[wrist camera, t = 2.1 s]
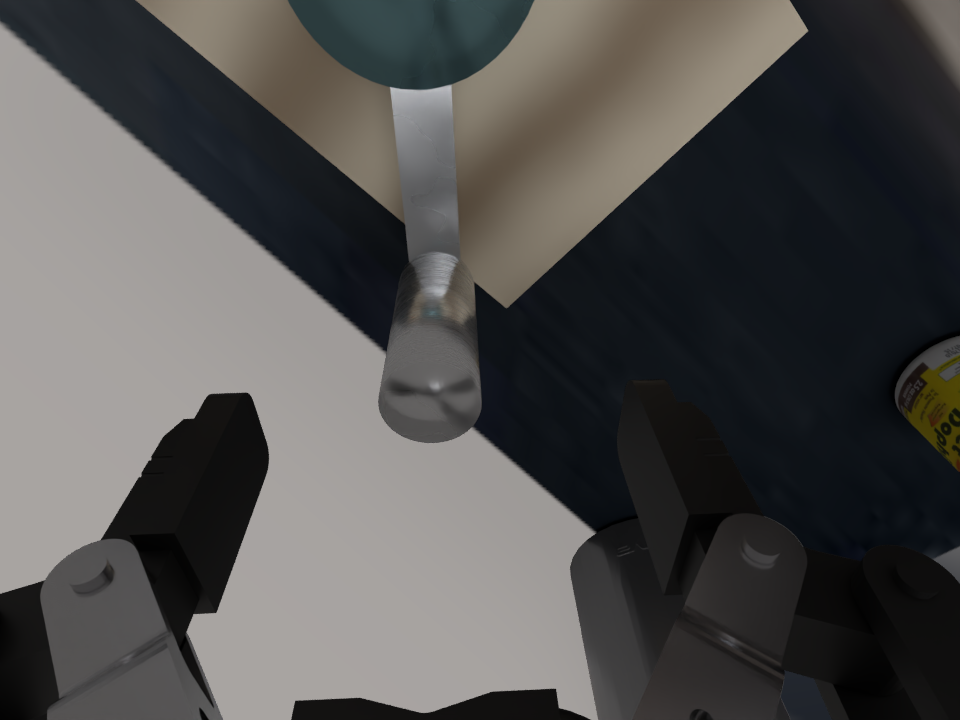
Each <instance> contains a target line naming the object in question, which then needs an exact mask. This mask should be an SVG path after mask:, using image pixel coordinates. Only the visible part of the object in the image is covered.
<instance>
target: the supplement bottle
mask: <svg viewBox="0 0 960 720" xmlns="http://www.w3.org/2000/svg"><path fill="white" fill-rule="evenodd" d="M895 401H896V405H897V407H898V409H899V410H900V412H901V413H902V414H903V416H904V417H905V418H906V419H907V420H908V421H909V422H910V423H911V424H912V425H913V426H914V427H915V428H916V429H917V430H918V431H919V432H920V433H921V434H922V435H923V436H924V437H925V438H926V439H927V440H928V441H929V442H930V443H931V444H932V445H933V446H934V447H935V448H936V449H937V450H938V451H939V452H940V453H941V454H942V455H943V456H944V457H945V458H946V459H947V460H948V461H949V462H950V463H951V464H952V465H953V466H954V467H955V468H956V469H957V470H958V471H959V472H960V336H956V337H953V338H950V339H947V340H945V341H942V342H940V343H938V344H936V345H934V346H932V347H930V348H929V349H927V350H926V351H924V352H923V353H921V354H920V355H919V356H917V357H916V358H915V359H914V360H913V361H912V362H911V363H910V364H909V365H908V366H907V367H906V369H905V370H904V371H903V373H902V374H901V376H900V378H899V380H898V382H897V385H896V389H895Z"/></svg>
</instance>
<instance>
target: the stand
mask: <svg viewBox="0 0 960 720" xmlns="http://www.w3.org/2000/svg"><path fill="white" fill-rule="evenodd" d="M136 1H137V2H138V3H140V4H141V5H142V6H143V7H144V8H146V9H147V10H148V11H149V12H150V13H152V14H153V15H154V16H155V17H156V18H158V19H159V20H160V21H161V22H163V23H164V24H165V25H166V26H167V27H169V28H170V29H171V30H172V31H173V32H175V33H176V34H177V35H178V36H179V37H181V38H182V39H183V40H184V41H185V42H187V43H188V44H189V45H190V46H191V47H193V48H194V49H195V50H196V51H197V52H199V53H200V54H201V55H202V56H203V57H205V58H206V59H207V60H208V61H209V62H211V63H212V64H213V65H214V66H215V67H217V68H218V69H219V70H220V71H221V72H223V73H224V74H225V75H226V76H227V77H229V78H230V79H231V80H232V81H233V82H235V83H236V84H237V85H238V86H240V87H241V88H242V89H243V90H244V91H246V92H247V93H248V94H249V95H250V96H252V97H253V98H254V99H255V100H256V101H258V102H259V103H260V104H261V105H262V106H264V107H265V108H266V109H267V110H268V111H270V112H271V113H272V114H273V115H274V116H276V117H277V118H278V119H279V120H280V121H282V122H283V123H284V124H285V125H286V126H288V127H289V128H290V129H291V130H292V131H294V132H295V133H296V134H297V135H298V136H300V137H301V138H302V139H303V140H304V141H306V142H307V143H308V144H309V145H310V146H312V147H313V148H314V149H315V150H317V151H318V152H319V153H320V154H321V155H323V156H324V157H325V158H326V159H327V160H329V161H330V162H331V163H332V164H333V165H335V166H336V167H337V168H338V169H339V170H341V171H342V172H343V173H344V174H345V175H347V176H348V177H349V178H350V179H351V180H353V181H354V182H355V183H356V184H357V185H359V186H360V187H361V188H362V189H363V190H365V191H366V192H367V193H368V194H369V195H371V196H372V197H373V198H374V199H375V200H377V201H378V202H379V203H380V204H381V205H383V206H384V207H385V208H386V209H387V210H389V211H390V212H391V213H392V214H394V215H395V216H396V217H397V218H398V219H400V220H401V221H402V222H403V223H404V224H405V219H404V210H403V201H402V192H401V182H400V173H399V164H398V155H397V145H396V136H395V127H394V118H393V108H392V99H391V90H390V87H387V86H384V85H381V84H378V83H375V82H372V81H370V80H368V79H366V78H364V77H361V76H359V75H357V74H355V73H354V72H352V71H351V70H349V69H348V68H346V67H344V66H343V65H341V64H340V63H339V62H338V61H336V60H335V59H334V58H333V57H332V56H330V55H329V54H328V53H327V52H326V51H325V50H324V49H323V48H322V47H321V46H320V45H319V44H318V43H317V42H316V41H315V40H314V39H313V38H312V36H311V35H310V34H309V32H308V31H307V30H306V29H305V27H304V26H303V25H302V23H301V22H300V20H299V19H298V17H297V16H296V14H295V12H294V11H293V9H292V7H291V6H290V4H289V2H288V0H136ZM807 31H808V30H807V28H806V26H805V25H804V23H803V21H802V20H801V18H800V17H799V15H798V13H797V12H796V10H795V8H794V7H793V5H792V4H791V2H790V0H534V2H533V4H532V7H531V9H530V11H529V14H528V16H527V17H526V19H525V21H524V23H523V24H522V26H521V28H520V30H519V31H518V33H517V34H516V35H515V37H514V38H513V39H512V41H511V42H510V43H509V45H508V46H507V47H506V48H505V49H504V50H503V51H502V52H501V53H500V54H499V55H498V56H497V57H496V58H495V59H494V60H493V61H492V62H490V63H489V64H488V65H487V66H485V67H484V68H483V69H482V70H480V71H478V72H477V73H475V74H473V75H472V76H470V77H468V78H466V79H464V80H461V81H459V82H457V83H454V84H452V99H453V119H454V138H455V157H456V177H457V196H458V215H459V235H460V254H461V261H462V262H463V263H464V264H465V265H466V266H467V267H468V268H469V270H470V272H471V274H472V276H473V280H474V282H475V283H477V284H478V285H479V286H480V287H481V288H483V289H484V290H485V291H486V292H487V293H489V294H490V295H491V296H492V297H493V298H495V299H496V300H497V301H498V302H499V303H501V304H502V305H503V306H504V307H505V308H508V307H509V306H510V305H511V304H512V303H513V302H514V301H515V300H516V299H517V298H518V297H520V296H521V295H522V294H523V293H524V292H525V291H526V290H527V289H528V288H529V287H530V286H531V285H533V284H534V283H535V282H536V281H537V280H538V279H539V278H540V277H541V276H542V275H543V274H545V273H546V272H547V271H548V270H549V269H550V268H551V267H552V266H553V265H554V264H555V263H556V262H558V261H559V260H560V259H561V258H562V257H563V256H564V255H565V254H566V253H567V252H568V251H569V250H571V249H572V248H573V247H574V246H575V245H576V244H577V243H578V242H579V241H580V240H581V239H583V238H584V237H585V236H586V235H587V234H588V233H589V232H590V231H591V230H592V229H593V228H594V227H596V226H597V225H598V224H599V223H600V222H601V221H602V220H603V219H604V218H605V217H606V216H608V215H609V214H610V213H611V212H612V211H613V210H614V209H615V208H616V207H617V206H618V205H619V204H621V203H622V202H623V201H624V200H625V199H626V198H627V197H628V196H629V195H630V194H631V193H632V192H634V191H635V190H636V189H637V188H638V187H639V186H640V185H641V184H642V183H643V182H644V181H646V180H647V179H648V178H649V177H650V176H651V175H652V174H653V173H654V172H655V171H656V170H657V169H659V168H660V167H661V166H662V165H663V164H664V163H665V162H666V161H667V160H668V159H669V158H671V157H672V156H673V155H674V154H675V153H676V152H677V151H678V150H679V149H680V148H681V147H682V146H684V145H685V144H686V143H687V142H688V141H689V140H690V139H691V138H692V137H693V136H694V135H695V134H697V133H698V132H699V131H700V130H701V129H702V128H703V127H704V126H705V125H706V124H707V123H709V122H710V121H711V120H712V119H713V118H714V117H715V116H716V115H717V114H718V113H719V112H720V111H722V110H723V109H724V108H725V107H726V106H727V105H728V104H729V103H730V102H731V101H732V100H734V99H735V98H736V97H737V96H738V95H739V94H740V93H741V92H742V91H743V90H744V89H745V88H747V87H748V86H749V85H750V84H751V83H752V82H753V81H754V80H755V79H756V78H757V77H758V76H760V75H761V74H762V73H763V72H764V71H765V70H766V69H767V68H768V67H769V66H770V65H772V64H773V63H774V62H775V61H776V60H777V59H778V58H779V57H780V56H781V55H782V54H783V53H785V52H786V51H787V50H788V49H789V48H790V47H791V46H792V45H793V44H794V43H795V42H797V41H798V40H799V39H800V38H801V37H802V36H803V35H804V34H805V33H806V32H807Z"/></svg>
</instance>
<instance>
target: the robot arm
mask: <svg viewBox="0 0 960 720" xmlns="http://www.w3.org/2000/svg"><path fill="white" fill-rule="evenodd" d="M617 447H618V455H619V460H620V463H621V467H622V470H623V473H624V476H625V479H626V482H627V485H628V488H629V491H630V494H631V497H632V500H633V503H634V506H635V509H636V512H637V515H638V518H637V519H631V520H627V521H624V522H621V523H617V524H614V525H612V526H610V527H608V528H606V529H603V530H601V531H599V532H598V533H596V534H595V535H593V536H592V537H591V538H589V539H588V540H587V541H586V542H585V543H584V544H583V545H582V546H581V547H580V548H579V549H578V550H577V552H576V554H575V555H574V557H573V559H572V563H571V566H570V570H571V580H572V584H573V590H574V595H575V600H576V606H577V611H578V616H579V621H580V626H581V632H582V638H583V643H584V648H585V653H586V659H587V663H588V669H589V674H590V679H591V684H592V690H593V695H594V700H595V705H596V710H597V715H598V720H790V717H789V715H788V713H787V711H786V708H785V706H784V704H783V702H782V700H781V697H780V695H781V692H782V687H783V682H784V675H785V672H784V670H786V671H789V672H793V673H797V674H801V675H804V676H807V677H811V678H814V680H815V682H816V684H817V687H818V689H819V691H820V693H821V696H822V698H823V700H824V702H825V705H826V707H827V709H828V712H829V714H830V716H831V718H832V720H960V584H959V582H958V581H957V580H956V579H955V577H954V576H953V575H952V574H951V573H950V572H948V571H947V570H946V569H945V568H944V567H943V566H941V565H940V564H939V563H937V562H936V561H934V560H933V559H931V558H929V557H927V556H926V555H924V554H922V553H919V552H917V551H915V550H912V549H909V548H906V547H901V546H896V545H881V546H877V547H874V548H872V549H870V550H869V551H868V552H867V553H866V554H865V556H864V558H863V559H862V561H857V560H853V559H849V558H844V557H840V556H836V555H831V554H827V553H823V552H818V551H815V550H811V549H808V548H806V547H803V546H802V544H801V543H800V542H799V540H798V539H797V538H796V537H795V535H794V534H793V533H792V532H790V531H789V530H788V529H787V528H785V527H784V526H783V525H781V524H779V523H778V522H776V521H774V520H772V519H769V518H767V517H764V515H763V514H762V512H761V510H760V508H759V507H758V505H757V503H756V501H755V499H754V498H753V496H752V494H751V492H750V490H749V489H748V487H747V485H746V483H745V481H744V479H743V478H742V476H741V474H740V472H739V470H738V469H737V467H736V465H735V463H734V461H733V460H732V458H731V456H729V455H728V453H729V452H728V451H727V449H726V447H725V445H724V443H723V441H720V436H719V434H718V432H717V431H716V429H715V427H714V425H713V423H712V422H711V420H710V418H709V417H708V416H707V415H705V414H704V413H703V412H702V411H701V410H699V409H698V408H697V407H696V406H695V405H694V404H692V403H691V402H680V403H677V401H676V399H675V397H674V395H673V393H672V391H671V389H670V387H669V385H668V383H667V381H666V380H664V379H656V380H630V381H628V382H627V385H626V388H625V393H624V399H623V405H622V411H621V417H620V422H619V428H618V435H617ZM151 457H152V459H151V461H148V463H147V465H146V466H145V468H144V470H143V471H142V476H141V477H139V478H138V480H137V481H136V483H135V485H134V486H133V488H132V489H131V491H130V493H129V495H128V496H127V498H126V499H125V501H124V503H123V504H122V506H121V508H120V509H119V511H118V513H117V514H116V516H115V518H114V519H113V521H112V523H111V524H110V526H109V528H108V529H107V531H106V532H105V534H104V536H103V537H102V539H101V540H100V541H97V542H94V543H91V544H88V545H86V546H83V547H81V548H80V549H78V550H76V551H74V552H73V553H71V554H70V555H68V556H67V557H66V558H64V559H63V560H62V561H61V562H60V563H59V564H58V565H56V566H55V568H54V569H53V570H52V571H51V573H50V574H49V575H48V577H47V578H46V580H45V581H42V582H38V583H35V584H32V585H28V586H25V587H22V588H18V589H15V590H12V591H9V592H5V593H2V594H0V720H223V718H222V716H221V714H220V711H219V709H218V706H217V704H216V701H215V699H214V697H213V694H212V692H211V689H210V687H209V684H208V682H207V679H206V677H205V674H204V672H203V669H202V667H201V665H200V662H199V660H198V657H197V655H196V652H195V650H194V647H193V645H192V643H191V640H190V638H189V636H188V634H187V633H186V631H187V629H188V626H189V624H190V621H191V619H192V617H193V614H204V613H216V612H217V610H218V607H219V604H220V601H221V599H222V596H223V593H224V590H225V588H226V585H227V582H228V579H229V576H230V574H231V571H232V568H233V565H234V563H235V560H236V557H237V554H238V551H239V549H240V546H241V543H242V541H243V538H244V535H245V532H246V529H247V527H248V524H249V521H250V518H251V516H252V513H253V510H254V507H255V505H256V502H257V499H258V496H259V494H260V491H261V488H262V485H263V482H264V480H265V477H266V474H267V470H268V464H269V452H268V446H267V442H266V439H265V436H264V433H263V430H262V427H261V424H260V420H259V417H258V414H257V411H256V408H255V405H254V402H253V399H252V397H251V396H250V394H248V393H224V394H210V395H208V396H207V397H206V399H205V400H204V402H203V404H202V406H201V408H200V409H199V412H198V413H197V415H196V416H195V418H194V419H183V420H182V421H181V422H180V423H179V424H178V425H176V426H175V427H174V428H173V429H172V430H171V431H170V432H168V433H167V434H166V435H165V436H164V437H163V438H162V440H161V441H160V443H159V445H158V447H157V448H156V450H155V452H154V453H153V455H152V456H151ZM291 720H590V719H588V718H586V717H584V716H581V715H578V714H576V713H574V712H571V711H568V710H564V709H560V708H559V707H558V700H557V692H556V689H541V690H518V691H499V692H490V693H487V694H484V695H481V696H478V697H475V698H473V699H469V700H466V701H464V702H460V703H458V704H454V705H451V706H448V707H446V708H442V709H439V710H437V711H434V712H430V713H419V712H415V711H411V710H407V709H402V708H398V707H394V706H391V705H386V704H382V703H378V702H374V701H370V700H366V699H362V698H348V699H326V700H304V701H295V705H294V709H293V714H292V719H291Z"/></svg>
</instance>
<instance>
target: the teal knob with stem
mask: <svg viewBox="0 0 960 720" xmlns="http://www.w3.org/2000/svg"><path fill="white" fill-rule="evenodd" d="M288 2H289V4H290V6H291V7H292V9H293V11H294V12H295V14H296V16H297V17H298V19H299V20H300V22H301V23H302V25H303V26H304V27H305V29H306V30H307V31H308V32H309V34H310V35H311V36H312V38H313V39H314V40H315V41H316V42H317V43H318V44H319V45H320V46H321V47H322V48H323V49H324V50H325V51H326V52H327V53H328V54H329V55H330V56H332V57H333V58H334V59H335V60H336V61H338V62H339V63H340V64H341V65H343V66H344V67H346V68H348V69H349V70H351V71H352V72H354V73H355V74H357V75H359V76H361V77H364V78H366V79H368V80H370V81H372V82H375V83H378V84H381V85H384V86H387V87H390V90H391V99H392V108H393V118H394V127H395V136H396V145H397V155H398V164H399V173H400V182H401V192H402V201H403V210H404V219H405V228H406V238H407V247H408V256H409V263H408V264H407V265H406V266H405V268H404V269H403V271H402V273H401V276H400V280H399V286H398V292H397V297H396V303H395V309H394V314H393V320H392V326H391V331H390V337H389V342H388V348H387V354H386V359H385V365H384V371H383V376H382V382H381V387H380V393H379V401H378V403H379V410H380V413H381V416H382V418H383V419H384V421H385V422H386V423H387V425H388V426H389V427H390V428H391V429H392V430H393V431H395V432H396V433H398V434H399V435H401V436H403V437H405V438H408V439H410V440H414V441H418V442H424V443H438V442H444V441H448V440H452V439H454V438H457V437H459V436H461V435H462V434H464V433H465V432H467V431H468V430H469V429H470V428H471V427H472V426H473V425H474V424H475V422H476V421H477V419H478V417H479V415H480V412H481V404H482V401H481V385H480V370H479V354H478V338H477V322H476V306H475V290H474V280H473V276H472V274H471V272H470V270H469V268H468V267H467V266H466V265H465V264H464V263H463V262H462V261H461V254H460V235H459V215H458V196H457V177H456V157H455V138H454V119H453V99H452V84H454V83H457V82H459V81H461V80H464V79H466V78H468V77H470V76H472V75H473V74H475V73H477V72H478V71H480V70H482V69H483V68H484V67H485V66H487V65H488V64H489V63H490V62H492V61H493V60H494V59H495V58H496V57H497V56H498V55H499V54H500V53H501V52H502V51H503V50H504V49H505V48H506V47H507V46H508V45H509V43H510V42H511V41H512V39H513V38H514V37H515V35H516V34H517V33H518V31H519V30H520V28H521V26H522V24H523V23H524V21H525V19H526V17H527V16H528V14H529V11H530V9H531V7H532V4H533V2H534V0H288Z"/></svg>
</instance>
